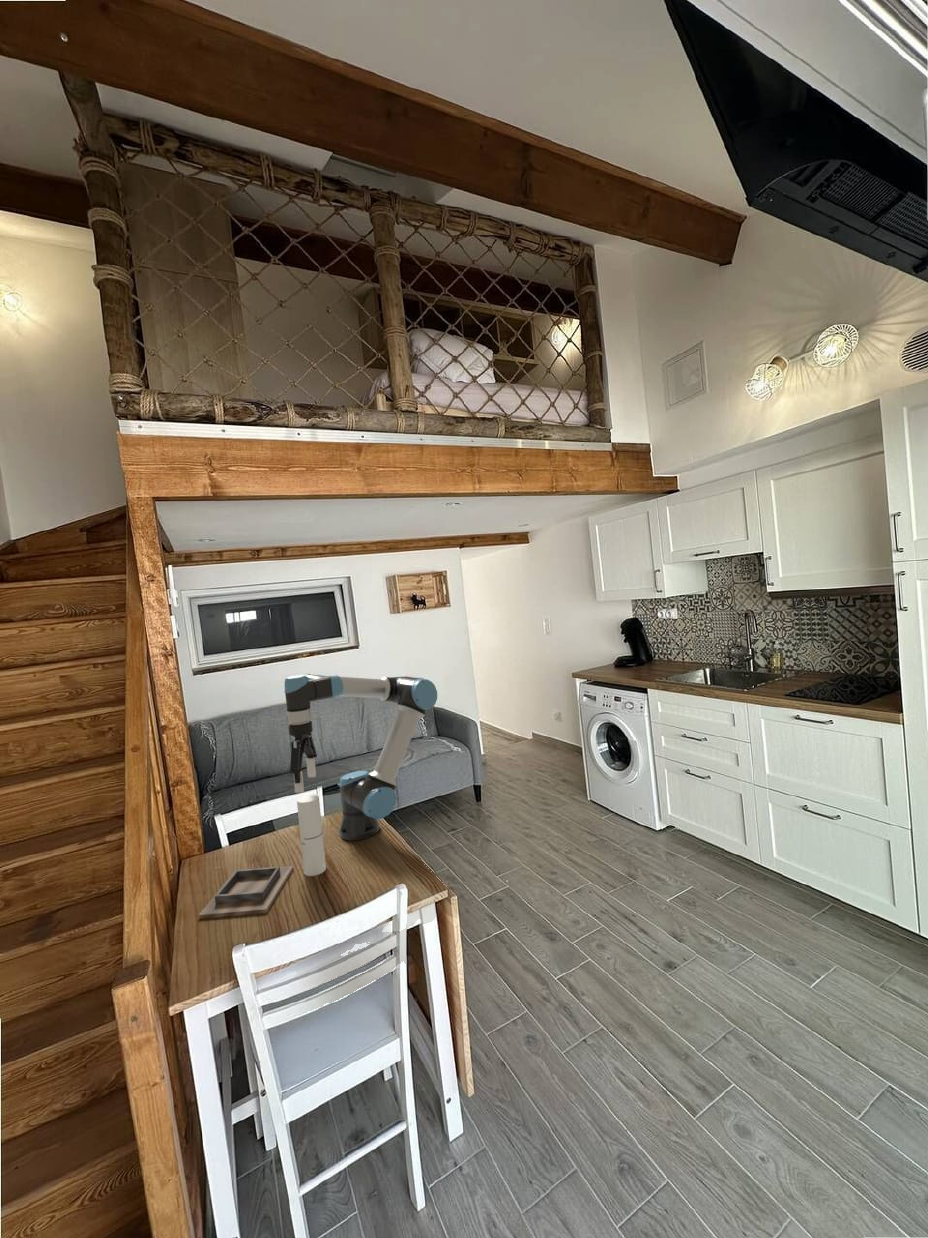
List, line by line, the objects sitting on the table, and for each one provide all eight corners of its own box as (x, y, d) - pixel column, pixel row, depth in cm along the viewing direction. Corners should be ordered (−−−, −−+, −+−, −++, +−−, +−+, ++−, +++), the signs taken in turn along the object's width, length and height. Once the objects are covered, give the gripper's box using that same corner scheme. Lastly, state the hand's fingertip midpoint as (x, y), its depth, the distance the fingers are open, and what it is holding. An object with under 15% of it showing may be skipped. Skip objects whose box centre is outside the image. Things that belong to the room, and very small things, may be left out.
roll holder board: (293, 869, 172) (292, 858, 172) (266, 913, 149) (265, 901, 148) (235, 874, 172) (234, 863, 172) (199, 919, 148) (197, 906, 148)
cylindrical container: (319, 876, 166) (312, 802, 165) (300, 875, 168) (292, 802, 167) (329, 864, 173) (322, 793, 172) (310, 864, 175) (303, 793, 174)
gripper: (300, 714, 181) (306, 772, 182) (275, 733, 156) (281, 800, 157) (321, 712, 181) (327, 770, 182) (299, 731, 156) (305, 798, 157)
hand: (306, 784), depth 169 cm, fingers open, 13 cm apart
